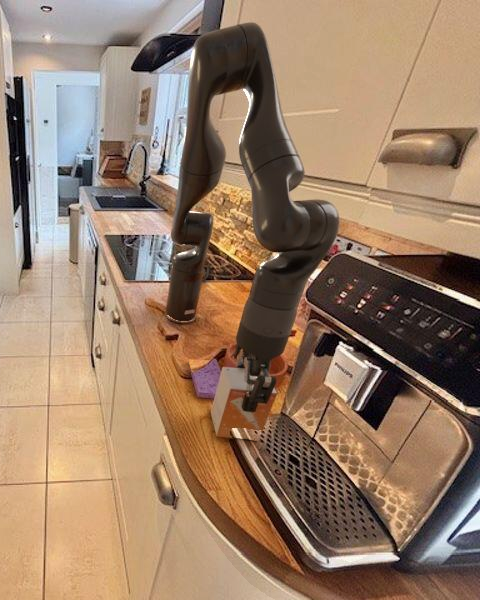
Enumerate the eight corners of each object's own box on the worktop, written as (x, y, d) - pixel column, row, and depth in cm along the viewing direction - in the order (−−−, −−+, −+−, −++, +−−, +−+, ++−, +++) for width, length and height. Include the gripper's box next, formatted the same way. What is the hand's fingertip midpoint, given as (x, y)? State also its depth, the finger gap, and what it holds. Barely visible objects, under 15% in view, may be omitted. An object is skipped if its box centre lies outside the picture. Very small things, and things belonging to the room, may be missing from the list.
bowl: (218, 354, 87) (221, 339, 85) (271, 359, 85) (276, 343, 83) (228, 388, 76) (233, 372, 74) (290, 395, 74) (297, 379, 71)
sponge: (197, 397, 74) (198, 391, 73) (187, 362, 85) (188, 356, 84) (229, 400, 73) (231, 393, 72) (214, 363, 84) (216, 358, 83)
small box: (216, 437, 64) (229, 388, 58) (209, 412, 70) (221, 365, 64) (259, 443, 63) (278, 393, 57) (249, 417, 69) (266, 369, 62)
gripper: (308, 351, 48) (277, 429, 56) (275, 303, 60) (253, 373, 68) (254, 346, 49) (230, 423, 57) (232, 300, 61) (215, 369, 69)
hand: (242, 396), depth 62 cm, fingers open, 6 cm apart
